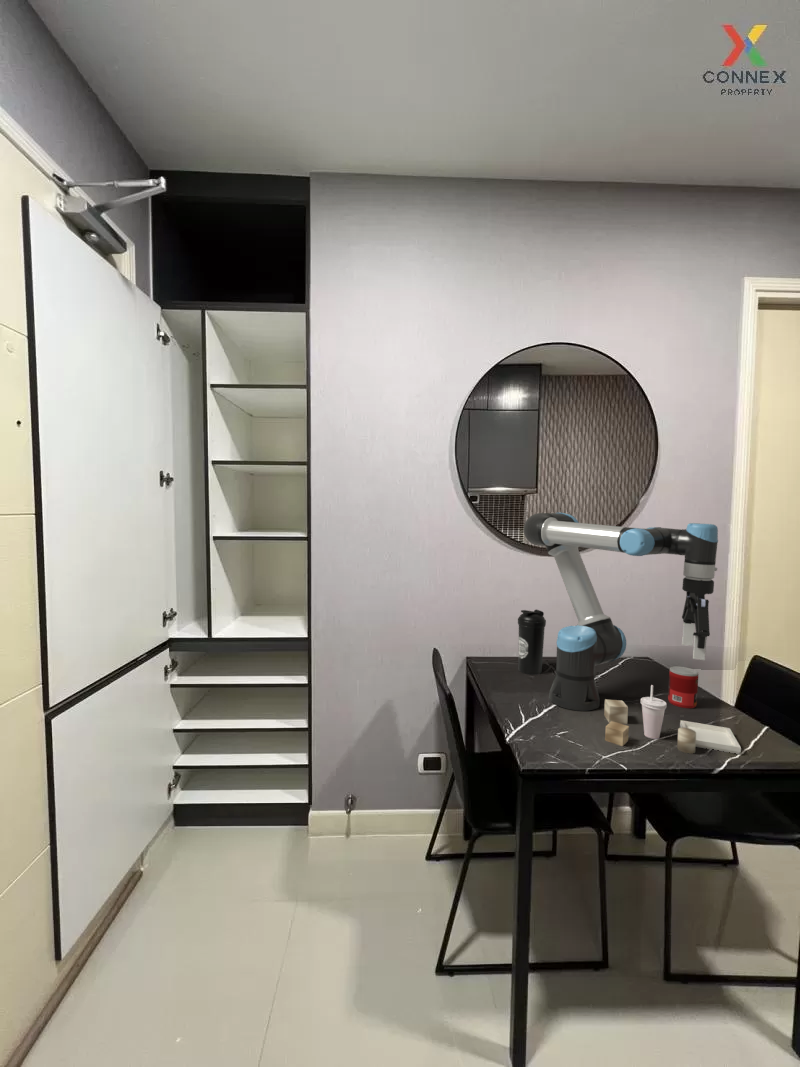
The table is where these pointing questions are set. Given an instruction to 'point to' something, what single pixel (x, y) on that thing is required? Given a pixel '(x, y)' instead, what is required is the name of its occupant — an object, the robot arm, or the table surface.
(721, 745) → the tray
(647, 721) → the smoothie
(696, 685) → the canned food
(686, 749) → the birch dowel
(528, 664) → the water bottle
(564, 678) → the robot arm
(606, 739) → the oak block
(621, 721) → the birch cube
